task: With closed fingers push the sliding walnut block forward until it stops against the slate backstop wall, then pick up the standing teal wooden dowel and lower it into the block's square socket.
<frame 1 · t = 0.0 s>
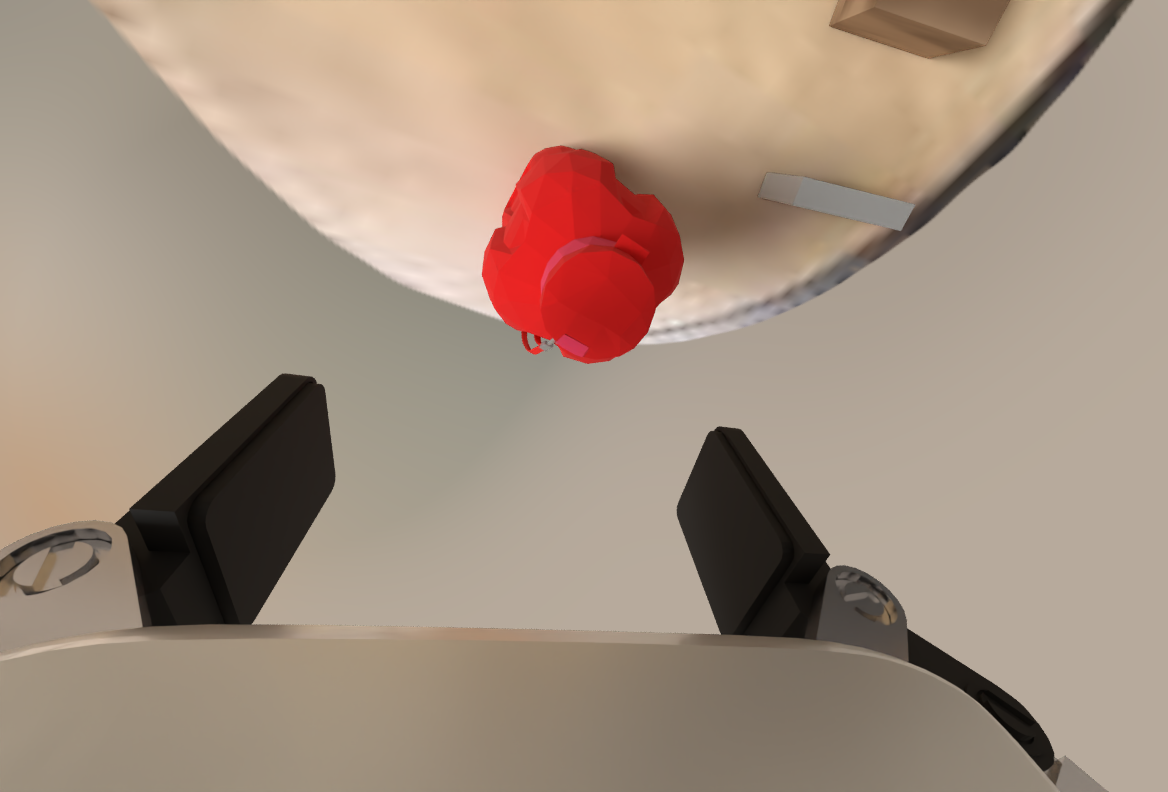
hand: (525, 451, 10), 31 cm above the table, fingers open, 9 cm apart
water bottle: (559, 223, 37), on the table
wall: (811, 196, 38), on the table
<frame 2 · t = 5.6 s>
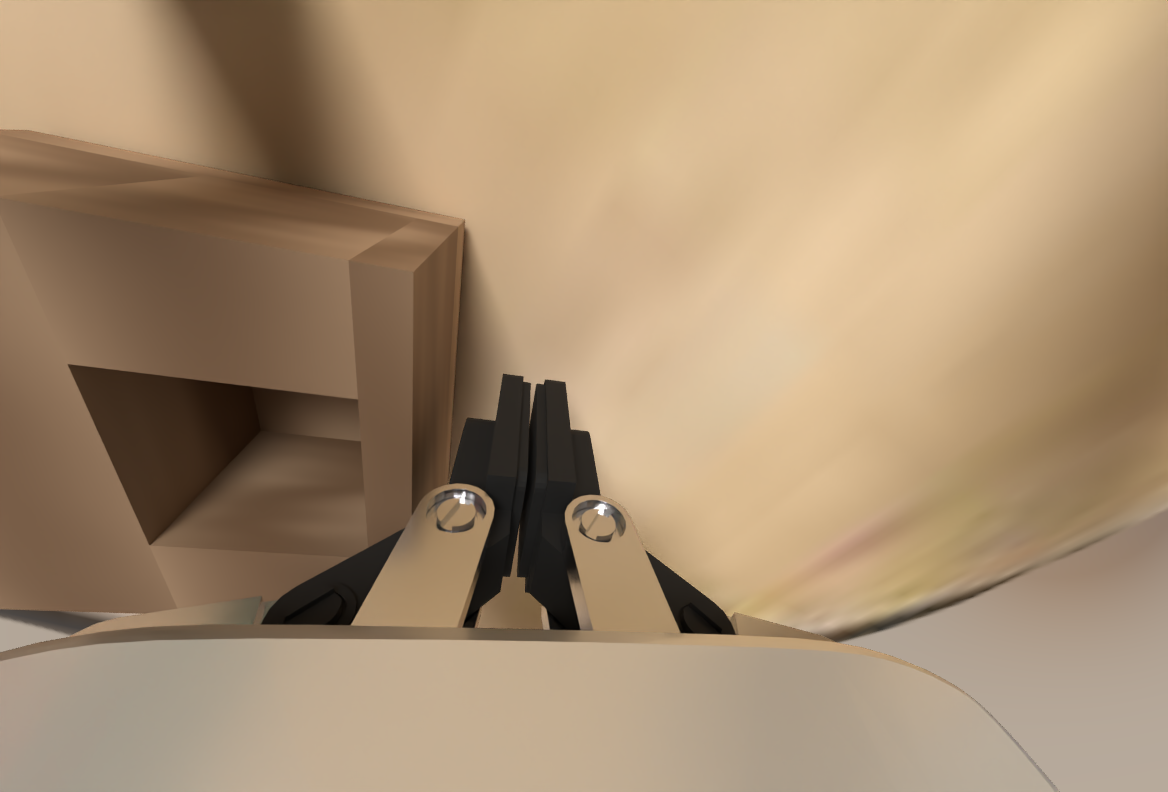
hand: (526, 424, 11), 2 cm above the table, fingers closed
block: (237, 399, 10), point 3 cm above the table, slide at 0.3 cm, touching gripper
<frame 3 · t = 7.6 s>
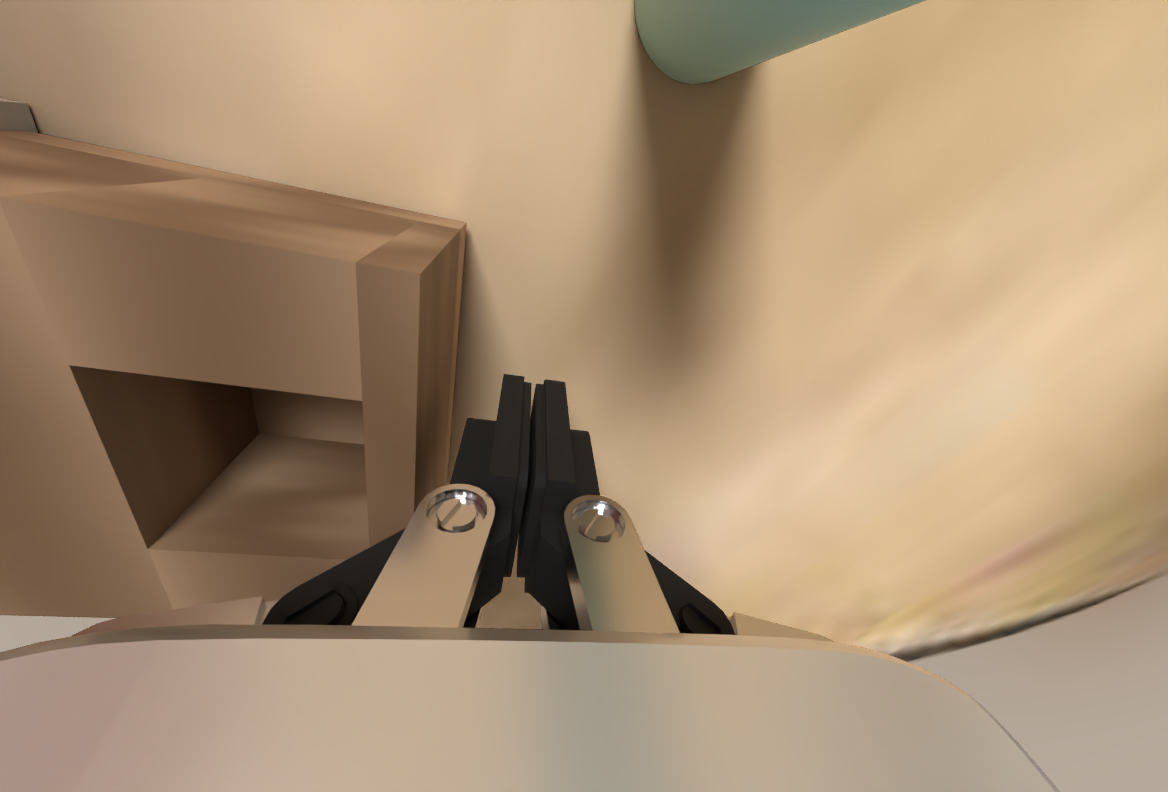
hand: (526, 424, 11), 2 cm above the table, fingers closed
block: (237, 401, 10), point 3 cm above the table, slide at 10.0 cm, touching gripper, wall
wall: (61, 320, 11), on the table
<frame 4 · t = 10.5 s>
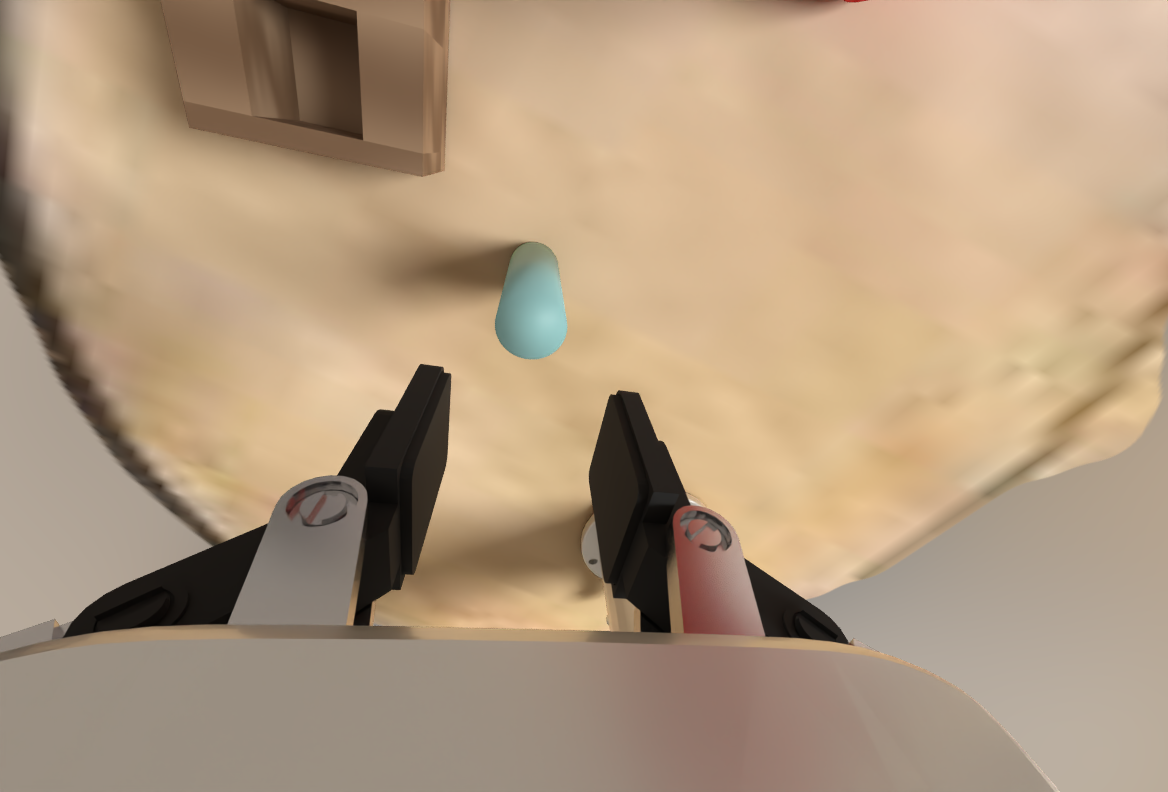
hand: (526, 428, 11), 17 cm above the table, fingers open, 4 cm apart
dowel: (533, 267, 26), on the table
block: (326, 30, 18), point 3 cm above the table, slide at 9.8 cm
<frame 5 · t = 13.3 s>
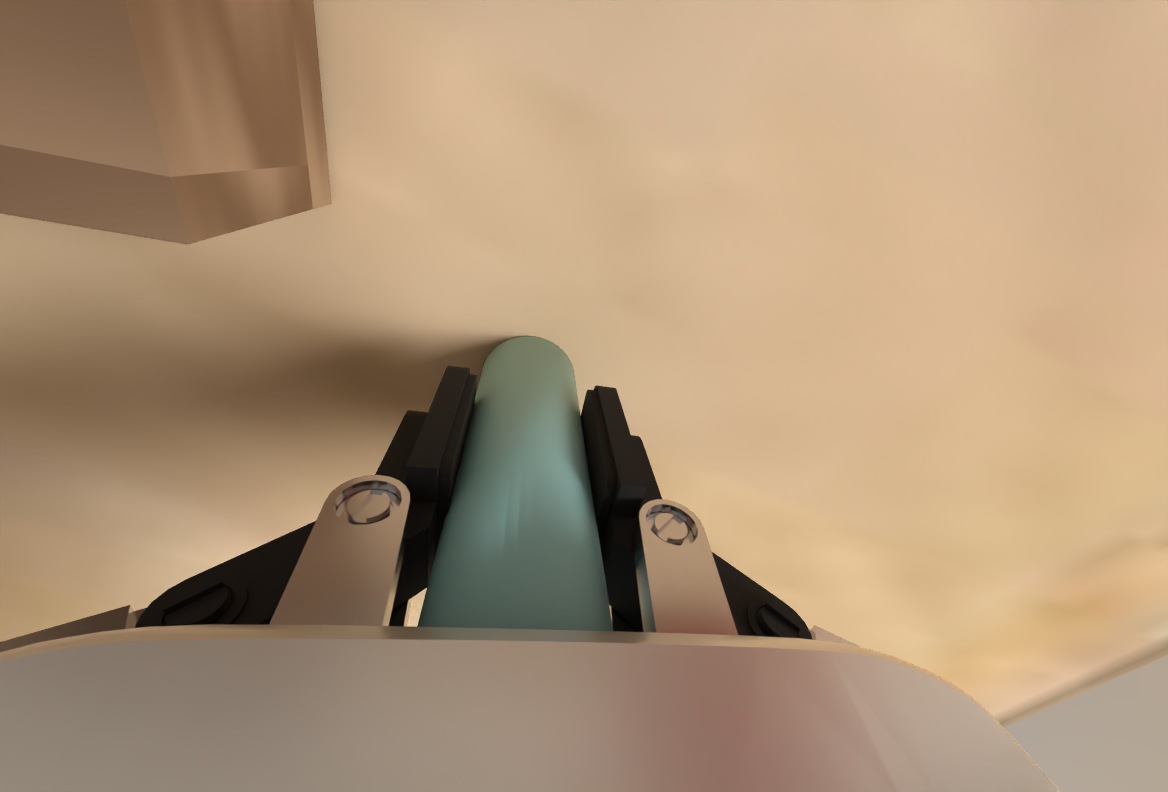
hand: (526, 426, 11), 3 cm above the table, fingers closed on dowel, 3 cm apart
dowel: (528, 378, 14), on the table, touching gripper
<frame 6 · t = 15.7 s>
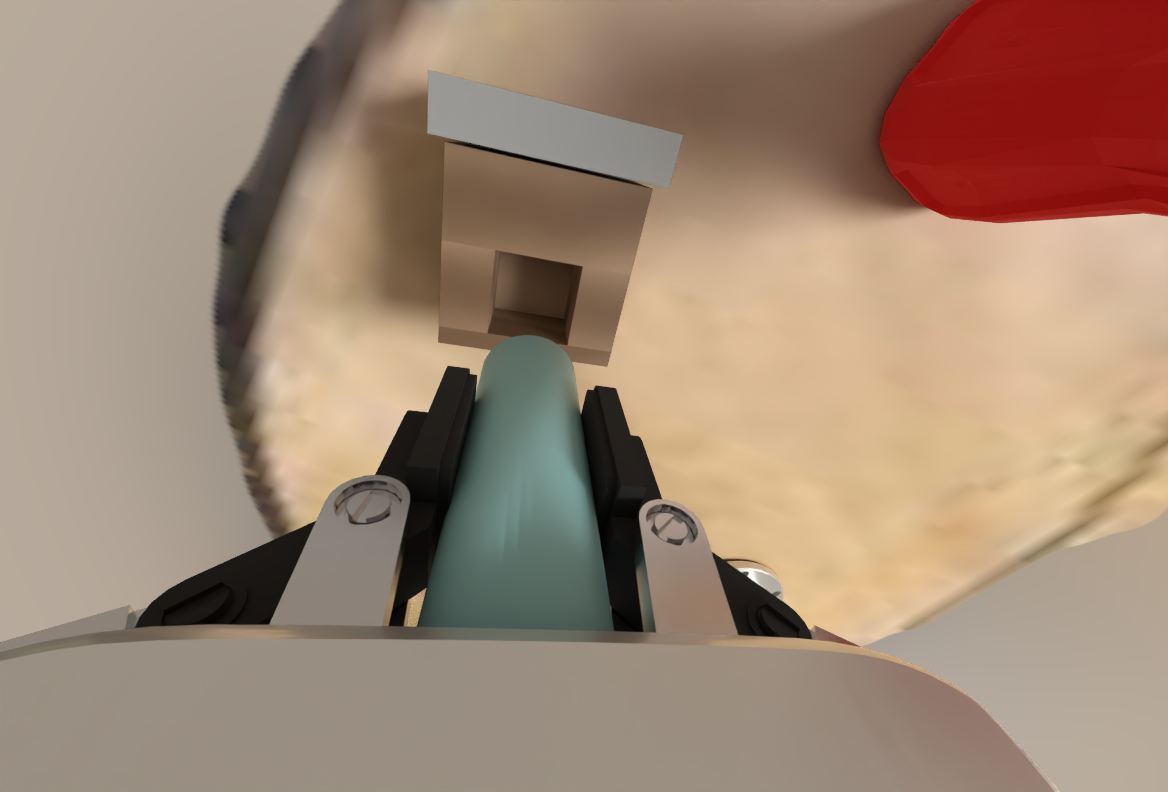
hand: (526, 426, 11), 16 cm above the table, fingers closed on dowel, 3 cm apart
dowel: (528, 377, 14), point 14 cm above the table, touching gripper
water bottle: (973, 95, 23), on the table
block: (538, 259, 22), point 3 cm above the table, slide at 9.8 cm
wall: (554, 137, 22), on the table
when the fingers open (6 cm above the table, at t = 18.2 s): dowel drops 2 cm, resting on block.
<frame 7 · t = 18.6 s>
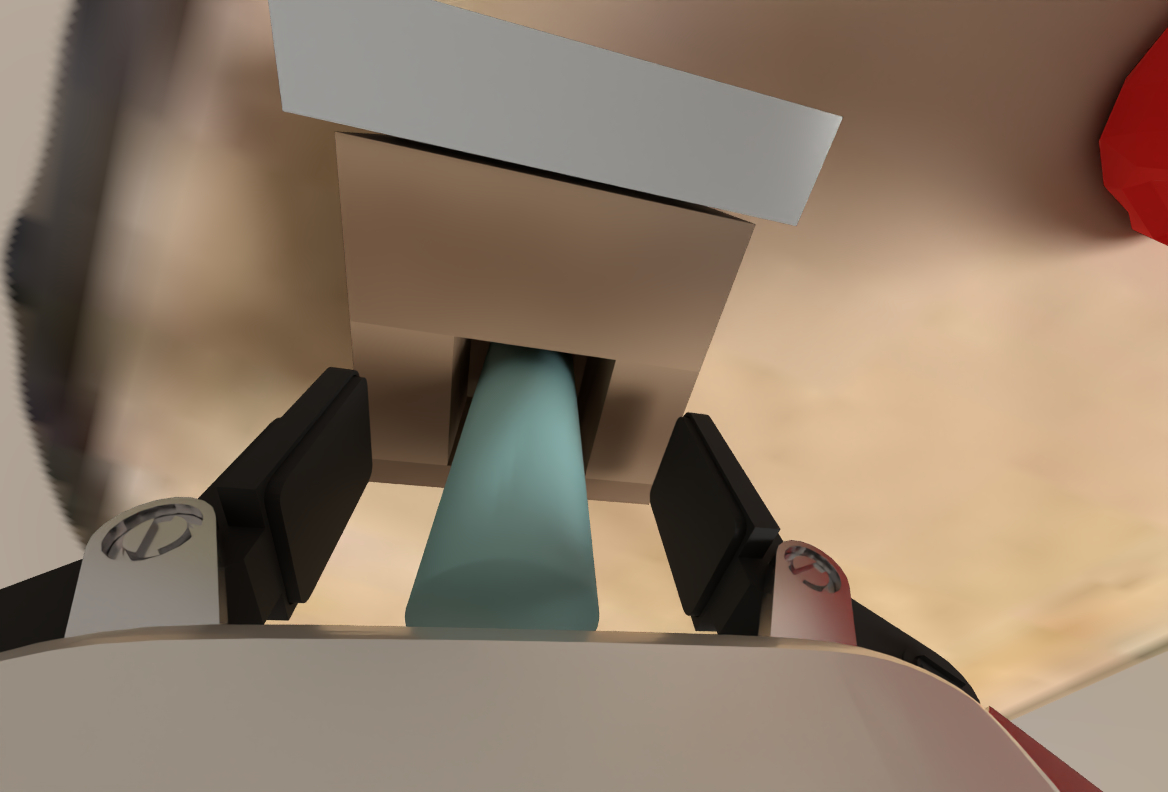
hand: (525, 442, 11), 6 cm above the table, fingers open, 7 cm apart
dowel: (530, 355, 15), point 1 cm above the table, touching block
block: (535, 332, 13), point 3 cm above the table, slide at 9.8 cm, touching dowel
wall: (562, 126, 13), on the table
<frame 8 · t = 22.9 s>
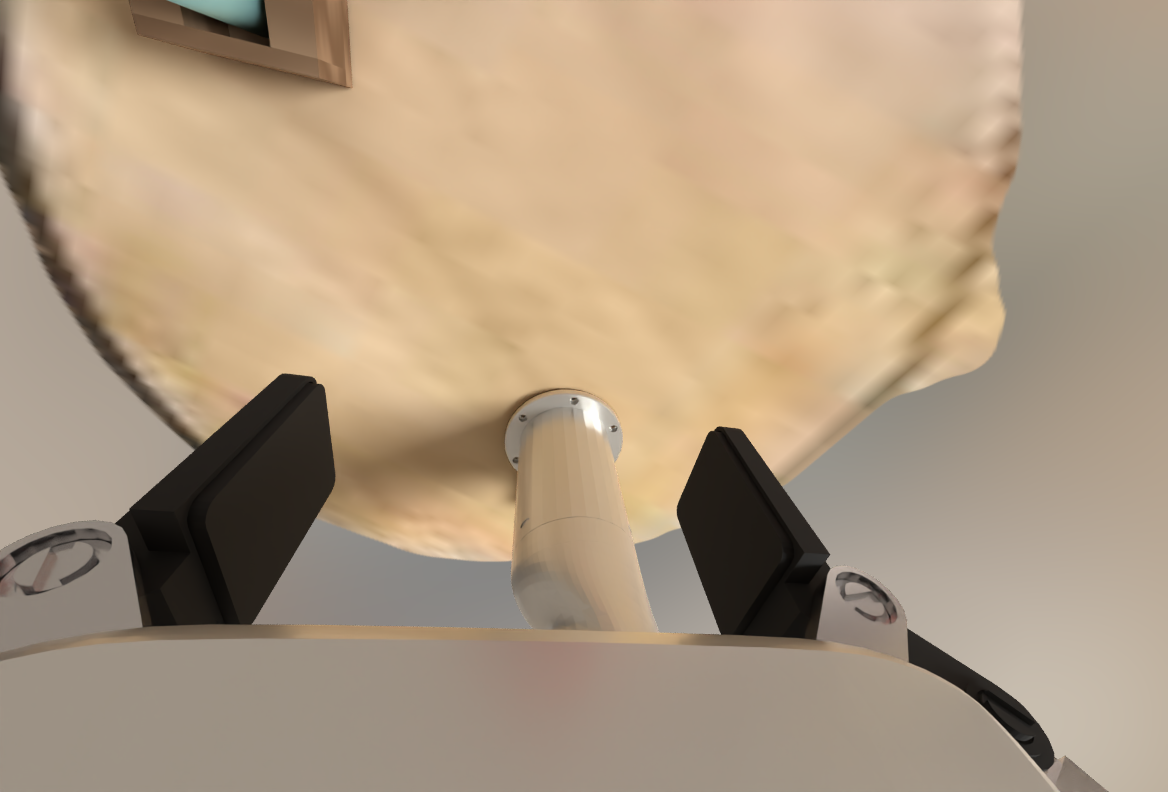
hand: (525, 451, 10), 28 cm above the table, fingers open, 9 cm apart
dowel: (263, 7, 25), point 1 cm above the table, touching block
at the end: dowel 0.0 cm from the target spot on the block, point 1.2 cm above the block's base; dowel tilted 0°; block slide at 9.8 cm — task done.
